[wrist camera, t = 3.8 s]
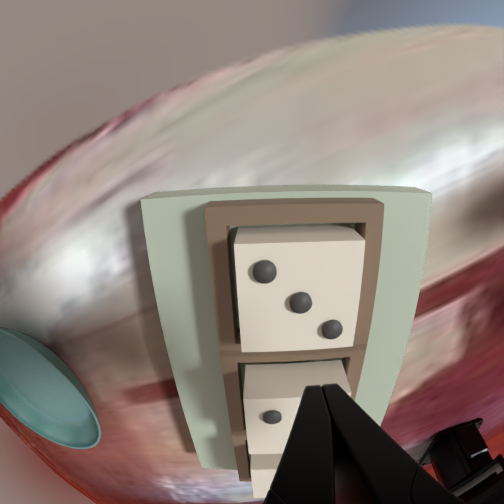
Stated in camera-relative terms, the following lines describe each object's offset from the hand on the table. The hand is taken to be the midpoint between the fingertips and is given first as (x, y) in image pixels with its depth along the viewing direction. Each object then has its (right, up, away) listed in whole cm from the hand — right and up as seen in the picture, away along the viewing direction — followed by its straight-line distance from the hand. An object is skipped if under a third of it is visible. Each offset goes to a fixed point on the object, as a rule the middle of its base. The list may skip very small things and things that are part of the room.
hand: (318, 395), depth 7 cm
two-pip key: (0, -4, +9) cm, 10 cm away
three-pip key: (0, +3, +7) cm, 8 cm away
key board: (+1, -3, +12) cm, 12 cm away
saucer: (-21, -8, +14) cm, 27 cm away
